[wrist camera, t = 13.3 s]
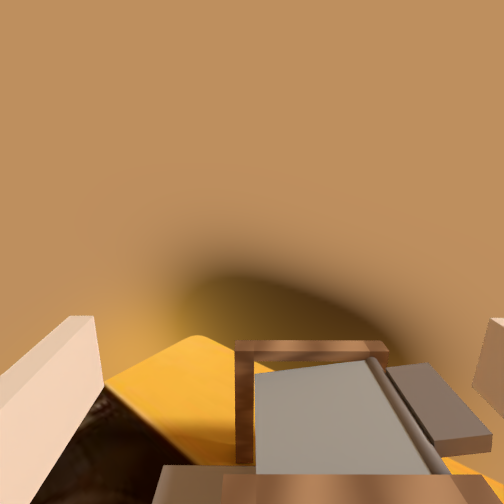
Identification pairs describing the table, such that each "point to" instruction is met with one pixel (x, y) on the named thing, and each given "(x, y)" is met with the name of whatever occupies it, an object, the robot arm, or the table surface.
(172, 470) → the granite block
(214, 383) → the table surface
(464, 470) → the table surface
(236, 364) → the trapdoor frame
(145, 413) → the table surface
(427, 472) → the flap
